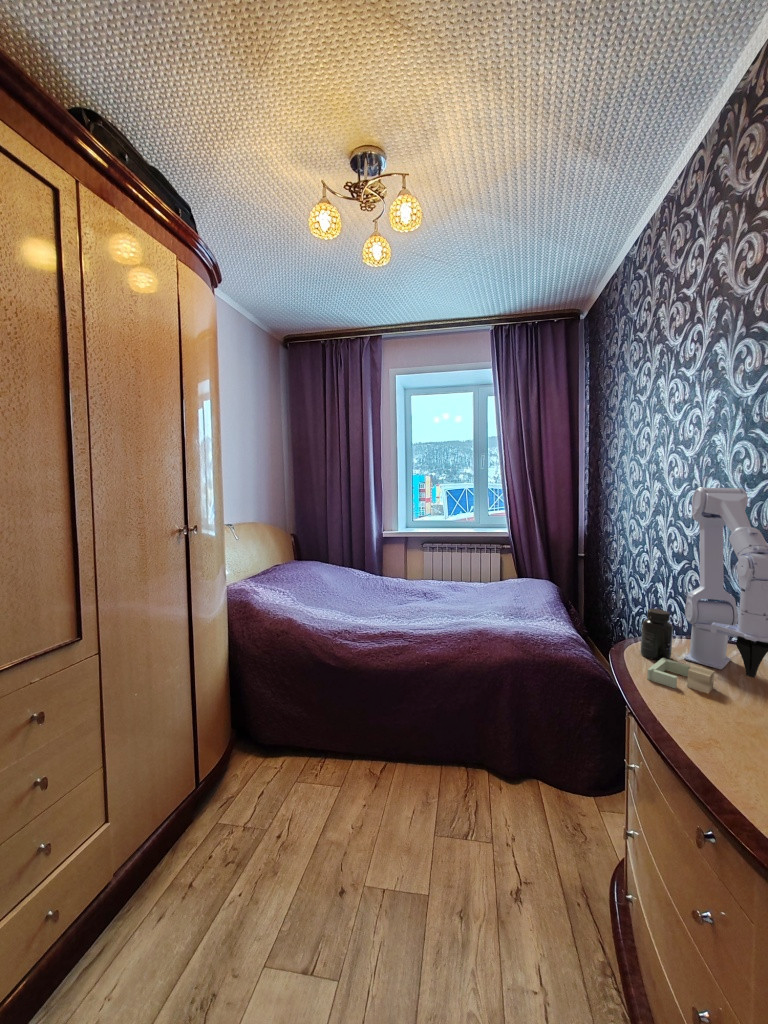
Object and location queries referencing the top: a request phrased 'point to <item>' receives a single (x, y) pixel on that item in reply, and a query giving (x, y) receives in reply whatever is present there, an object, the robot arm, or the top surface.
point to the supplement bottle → (656, 635)
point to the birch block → (700, 679)
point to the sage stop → (661, 677)
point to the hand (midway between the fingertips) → (750, 675)
